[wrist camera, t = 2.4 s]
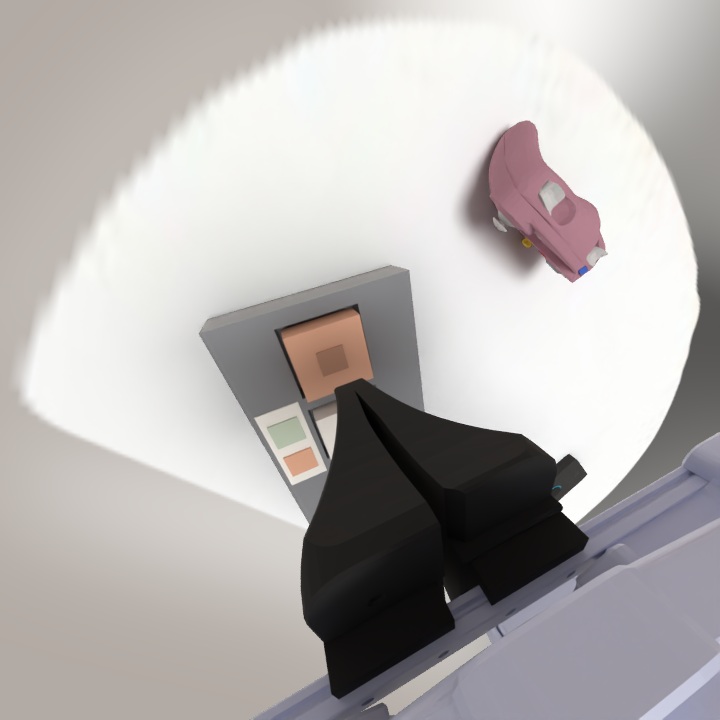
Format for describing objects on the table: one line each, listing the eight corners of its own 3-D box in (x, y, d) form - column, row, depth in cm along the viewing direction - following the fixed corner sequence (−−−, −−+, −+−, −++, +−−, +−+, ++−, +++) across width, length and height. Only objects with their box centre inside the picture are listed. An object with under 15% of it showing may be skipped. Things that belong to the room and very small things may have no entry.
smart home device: (589, 475, 42) (499, 555, 44) (578, 467, 43) (492, 544, 46) (577, 458, 37) (478, 548, 40) (565, 450, 39) (471, 537, 41)
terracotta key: (365, 367, 18) (374, 378, 16) (304, 389, 17) (308, 403, 16) (351, 307, 16) (360, 314, 14) (280, 330, 15) (282, 339, 13)
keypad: (417, 451, 27) (432, 472, 24) (307, 501, 25) (311, 530, 22) (391, 265, 17) (411, 270, 15) (207, 319, 15) (197, 335, 13)
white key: (380, 428, 21) (388, 442, 19) (328, 450, 20) (333, 466, 19) (370, 385, 19) (378, 397, 17) (311, 408, 18) (315, 422, 16)
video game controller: (453, 184, 18) (495, 226, 13) (514, 109, 15) (592, 130, 11) (526, 256, 23) (575, 305, 18) (583, 208, 20) (657, 252, 15)
